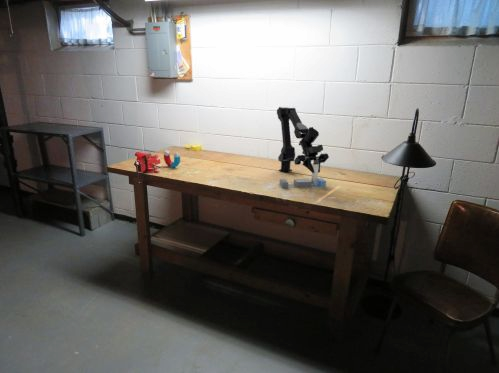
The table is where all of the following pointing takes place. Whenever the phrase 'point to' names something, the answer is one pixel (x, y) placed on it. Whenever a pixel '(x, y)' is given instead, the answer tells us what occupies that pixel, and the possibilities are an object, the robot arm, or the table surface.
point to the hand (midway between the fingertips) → (316, 172)
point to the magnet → (168, 160)
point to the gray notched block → (302, 183)
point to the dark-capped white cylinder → (315, 172)
